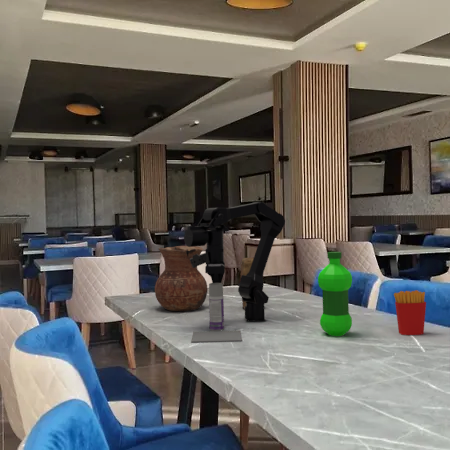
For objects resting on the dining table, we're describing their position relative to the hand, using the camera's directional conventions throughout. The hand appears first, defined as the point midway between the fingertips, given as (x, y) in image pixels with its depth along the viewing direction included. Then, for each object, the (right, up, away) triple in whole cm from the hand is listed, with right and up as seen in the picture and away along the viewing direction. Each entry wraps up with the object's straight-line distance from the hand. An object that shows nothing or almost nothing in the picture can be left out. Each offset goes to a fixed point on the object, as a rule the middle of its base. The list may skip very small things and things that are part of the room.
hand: (216, 291), depth 176 cm
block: (+14, -11, +33) cm, 37 cm away
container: (0, -12, -5) cm, 13 cm away
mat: (0, -12, -16) cm, 20 cm away
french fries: (+59, -11, -17) cm, 62 cm away
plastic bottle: (+37, -11, -16) cm, 42 cm away
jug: (-15, -12, +36) cm, 40 cm away
